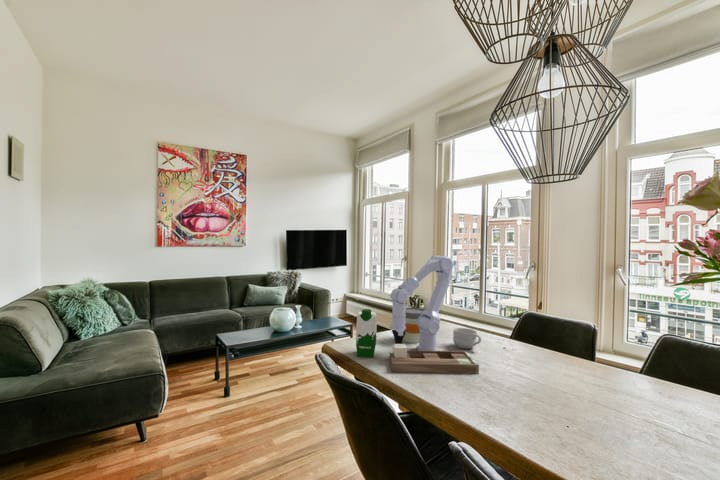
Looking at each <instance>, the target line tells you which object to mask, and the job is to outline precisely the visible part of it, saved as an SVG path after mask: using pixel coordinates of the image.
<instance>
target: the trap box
mask: <svg viewBox="0 0 720 480" xmlns="http://www.w3.org/2000/svg"><path fill="white" fill-rule="evenodd" d="M389 361H390V364H391V365H390V366H391V372H392V373H419V374H420V373H427V374H428V373H429V374H431V373H432V374H433V373H436V374H479V373H480V364H479V363H478V362H477V361H476V360H475V359H474V357H472V356H471V355H470V353H468V352H467V350H436V351H423V350H418V349H417V350H415V349H413V350H410V349H409V350H408V349H407V358H395V357H394V353H393V352H389Z"/></svg>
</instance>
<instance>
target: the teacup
mask: <svg viewBox="0 0 720 480" xmlns="http://www.w3.org/2000/svg"><path fill="white" fill-rule="evenodd" d="M477 333H478V332H477V330H475V329H471V328H465V327H456V328H453V332H452V334H453V335H452V336H453V337H452V340H453V341H452V342H453V343H454V345H456V346H457V347H458V348H461V349H466V350H467V349H468V350H469V349H470V350H471V349H472V348H473V347H476V346H477V345H478V344H480V343H481V342H482V336H481V334H477ZM477 339H478V341H477Z"/></svg>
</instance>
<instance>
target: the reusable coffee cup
mask: <svg viewBox="0 0 720 480" xmlns="http://www.w3.org/2000/svg"><path fill="white" fill-rule="evenodd" d="M424 310H425V309H423V308H419V307H406V316H405V317H406V318H405V326H406V329H405V333H406V334H405V336H404V338H403V341H404V342H406V343H410V344H419V333H420V330H419V329H420V328H419V327H418V325H417V320H418V318H419V317H420V316H421V314H422V312H423V311H424Z"/></svg>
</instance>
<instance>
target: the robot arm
mask: <svg viewBox="0 0 720 480" xmlns="http://www.w3.org/2000/svg"><path fill="white" fill-rule="evenodd" d="M453 267H454V262H453V260H452V259H451V257H450V256H446V255H445V256H443V255H437V254H434V255H432V256H430V257H429V258H428V259H427V261H426V262H425V264H424V265H423V266H422V267H421V268H420V269H419V270H418V271H417V272H416V274H414V276H407V277H406V278H405V281H403V282H402V283H401V284H399V285H398V287H397V288H394V289H392V291H391V293H390V294H389V295H390V296H389V297H390V299H391V300H392V309H391V310H392V312H391V313H392V314H391V315H392V317H391V319H392V321H391V325H389V329H392V330H391V333H392V335H393V338H394V344H403V341H404V336H405V334H406V333H405V329H406V326H405V318H406V317H405V316H406V308H407V307H406V306H407V302H408V300H409V299H410V296H411V294H412V293H414V291H415V290H417V288H418V287H419V285H420V282H421V281H423V279H425V278H426V277H427V276H428V275H430V274H431V272H435V273H436V276H437V277H438V278H437V281H436V283H435V286H434V289H433V291H432V294H431V297H430V299H429V302H428V305H427V307H426V309H423V310H424V311H423V312H422V314H421V316H420V317H419V318H418V320H417V325H418V327H419V328H420V329H419V330H420V333H419V343H418V345H417V346H416V348H417V350H423V351H437V347H436V346H437V333H439V330H440V323H441V316H440V314H439V312H440V311H441V307H442V305H443V301H444V299H445V296H446V295H447V290H448V288H449V286H450V283H451V280H452V277H453V276H452V275H453Z"/></svg>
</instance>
